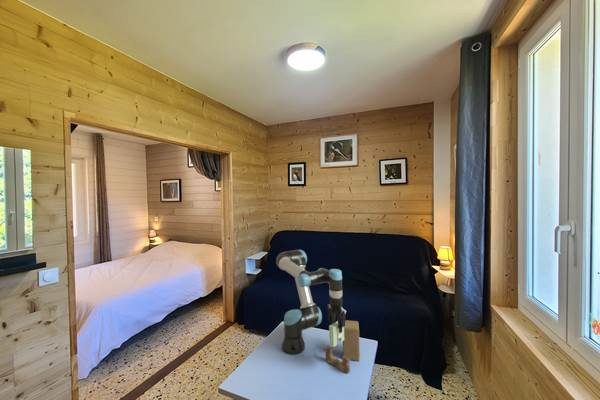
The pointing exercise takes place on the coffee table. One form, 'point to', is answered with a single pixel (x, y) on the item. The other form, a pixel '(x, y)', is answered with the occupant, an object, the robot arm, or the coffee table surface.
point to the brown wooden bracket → (338, 361)
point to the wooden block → (351, 340)
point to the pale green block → (335, 334)
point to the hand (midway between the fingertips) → (337, 336)
